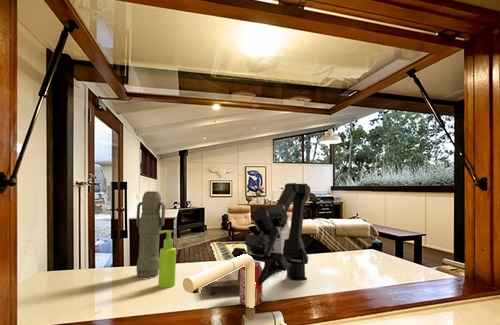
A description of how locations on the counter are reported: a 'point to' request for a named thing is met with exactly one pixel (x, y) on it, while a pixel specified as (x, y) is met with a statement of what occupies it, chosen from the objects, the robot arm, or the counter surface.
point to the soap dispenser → (167, 262)
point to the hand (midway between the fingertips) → (248, 282)
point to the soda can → (258, 287)
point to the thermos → (149, 234)
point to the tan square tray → (223, 282)
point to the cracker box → (281, 239)
